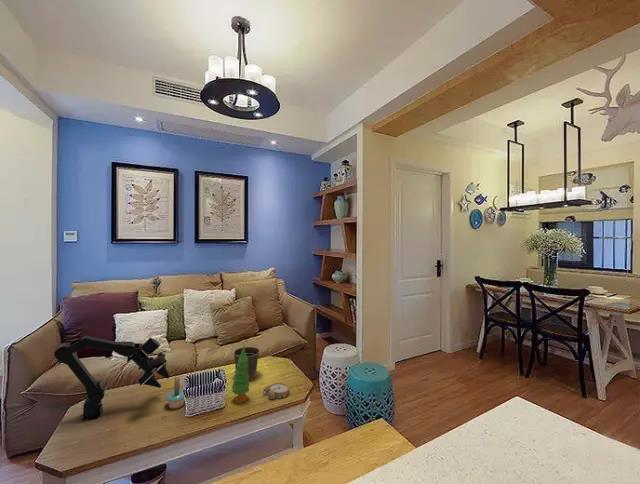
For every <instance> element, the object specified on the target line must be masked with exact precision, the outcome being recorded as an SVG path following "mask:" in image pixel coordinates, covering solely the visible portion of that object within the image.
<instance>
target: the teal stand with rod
mask: <svg viewBox="0 0 640 484" xmlns="http://www.w3.org/2000/svg"><path fill="white" fill-rule="evenodd" d="M180 378H181V377H180V376H176V377H174V387H173V388H174V390H172V391H170V392H168V393H167V394H166V396H165V399H166V401H167V402H169V401H170V402H175V401H179V400H182V399H184V394H183V390H184V389H180V387H181V384H180V381H181V380H180Z"/></svg>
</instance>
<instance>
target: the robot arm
mask: <svg viewBox="0 0 640 484" xmlns="http://www.w3.org/2000/svg"><path fill="white" fill-rule="evenodd" d="M160 346H161V343H160V342H159V341H158V340H157V339H155V338H152V337H148V339H147V340H146V341H145V342H144V343H140V342H139V343H138V342H137V343H136V342H134V341H127V340H124V341H115V340H110V339H104V338H99V337H94V336H91V335H84V336H83V337H81V338H78V339H74V340H72V341H70V342H63V343H61V344H60V345H59V346H58V347H57V348H56V350H55V351H54V354H53V356H54V358H55V359H56V360H58V361H59V362H61V363H62V364H65V365H67V366H68V368H69V369H70V370H71V372H72V373H73V374H74V376H75V377H76V378H77V379H78V381H79V382H80V383H81V384H82V385H83V387H84V389H85V392H86V398H85V400H84V402H83V404H82V406H83V411H82V412H83V413H82V415H83V416H82V418H81V420H80V421H87V420H88V421H90V420H97V419H98V418H99V417H100V416H101V414H102V413H103V412H104V407H103V405H104V404H103V403H102V400H103V399H104V397H105V394H106V391H107V384H106V383H104V381H103V379H100V380H98V379H97V380H96V379H95V378H94V377H93V375H92V374H91V373H90V371H89V370H88V369H87V368H86V366H85V365H84V363H83V362H82V361H81V360H80V358H79V357H78V352H77V351H80V350H81V349H83V348H85V347H89V348H92V349H98V350H105V351H110V352H114V353H116V354H117V355H119V356H122V357H125V358H127V359H126V363H130V362H131V361H132V362H134V364H135V365H136V366H138V368H137V370H142V371H143V372H144V373H143V375H142V376H141V377H140V378H139V379H138V380H137V383H138V384H139V385H140V386H142V385H143V386H150V387H153V388H158V389H159V388H161V387H162V385H161V383H160V382H159V381H158V380H157V378H156V375H155V373H154V372H156V374H158V375H160V376H162V377H163V378H165V379H168V380H169V379H170V375H169V372H168V370H167V367H166V366H167V364H168V363H167V362H168V360H167V359H166V354H164V352H162V351H161V352H159V353H158V354H157V356H156V357H153V356H151V357H149V356H148V355H152V354H153V353H154V352H156V350H158V349H159V348H160ZM153 373H154V374H153Z"/></svg>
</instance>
